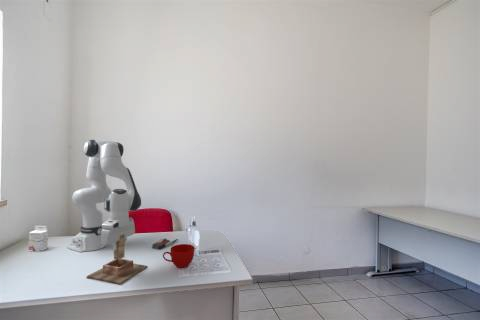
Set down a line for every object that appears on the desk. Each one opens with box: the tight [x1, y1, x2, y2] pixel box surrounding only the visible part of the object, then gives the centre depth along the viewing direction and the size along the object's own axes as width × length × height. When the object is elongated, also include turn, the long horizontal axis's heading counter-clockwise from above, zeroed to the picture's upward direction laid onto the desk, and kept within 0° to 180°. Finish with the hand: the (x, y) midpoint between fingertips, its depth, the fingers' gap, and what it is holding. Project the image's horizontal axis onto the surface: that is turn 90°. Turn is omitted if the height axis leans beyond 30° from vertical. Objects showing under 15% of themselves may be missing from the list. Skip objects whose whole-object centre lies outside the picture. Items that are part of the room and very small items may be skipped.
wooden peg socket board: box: [86, 258, 148, 286], centre depth 135 cm, size 20×20×5 cm
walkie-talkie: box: [151, 237, 178, 250], centre depth 178 cm, size 9×4×20 cm
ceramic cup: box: [162, 243, 196, 269], centre depth 144 cm, size 13×17×10 cm
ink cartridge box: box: [28, 225, 49, 251], centre depth 163 cm, size 9×5×15 cm, turn 92°
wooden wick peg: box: [113, 234, 126, 260], centre depth 134 cm, size 4×4×12 cm
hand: (119, 248), depth 134 cm, fingers closed on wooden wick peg, 3 cm apart
